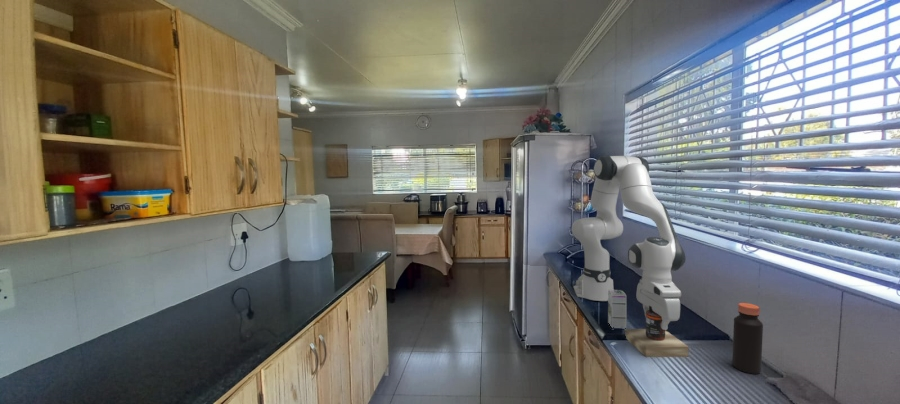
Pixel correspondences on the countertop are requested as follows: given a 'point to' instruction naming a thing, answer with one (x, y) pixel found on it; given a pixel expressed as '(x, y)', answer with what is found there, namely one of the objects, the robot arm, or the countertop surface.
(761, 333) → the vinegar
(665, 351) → the beech block
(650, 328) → the supplement bottle
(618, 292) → the syrup box
